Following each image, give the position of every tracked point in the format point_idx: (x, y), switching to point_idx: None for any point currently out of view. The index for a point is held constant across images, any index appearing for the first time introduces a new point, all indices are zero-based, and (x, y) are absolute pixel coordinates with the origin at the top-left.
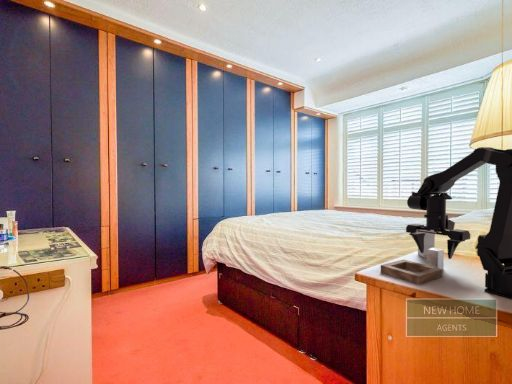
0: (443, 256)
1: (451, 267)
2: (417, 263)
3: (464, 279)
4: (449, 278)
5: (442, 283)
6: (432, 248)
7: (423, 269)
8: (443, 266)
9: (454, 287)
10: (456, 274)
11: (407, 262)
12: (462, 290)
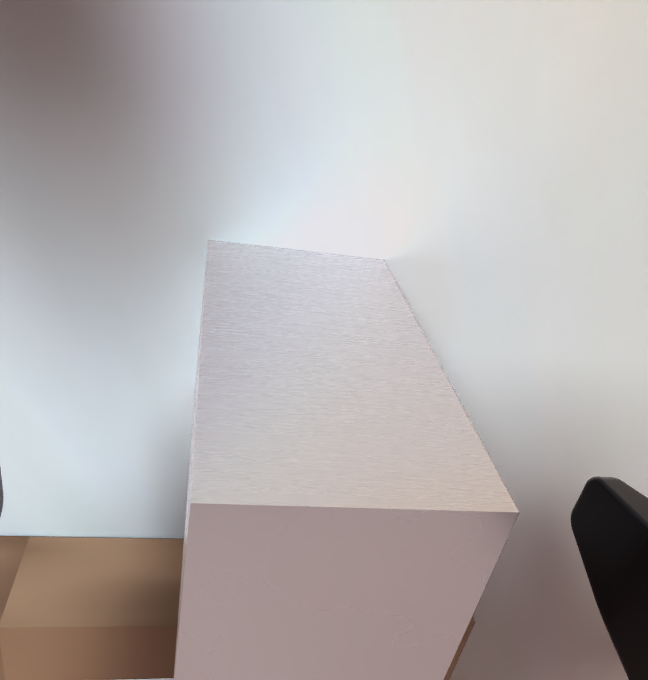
0: (452, 395)
1: (461, 9)
2: (161, 645)
3: (644, 456)
4: (513, 532)
5: (484, 664)
6: (233, 589)
7: None
8: (395, 281)
9: (570, 668)
10: (565, 354)
11: (37, 676)
12: (621, 675)
